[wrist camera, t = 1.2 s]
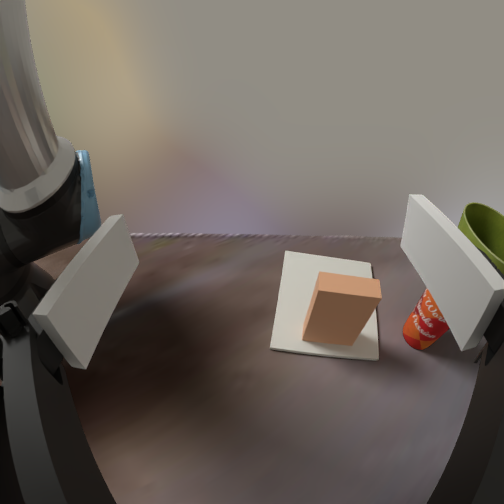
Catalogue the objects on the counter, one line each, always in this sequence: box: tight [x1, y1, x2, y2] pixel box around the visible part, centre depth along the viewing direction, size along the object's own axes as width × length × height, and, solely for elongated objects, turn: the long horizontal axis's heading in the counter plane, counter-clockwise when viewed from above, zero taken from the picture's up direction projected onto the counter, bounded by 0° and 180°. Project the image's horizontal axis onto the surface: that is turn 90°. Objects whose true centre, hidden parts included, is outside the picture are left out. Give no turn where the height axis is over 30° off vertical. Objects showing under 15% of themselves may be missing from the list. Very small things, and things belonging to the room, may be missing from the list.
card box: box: [302, 271, 382, 346], centre depth 33 cm, size 7×3×11 cm, turn 79°
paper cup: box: [403, 288, 449, 350], centre depth 32 cm, size 8×8×14 cm
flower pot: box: [458, 203, 504, 275], centre depth 35 cm, size 15×15×16 cm
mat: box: [270, 251, 379, 361], centre depth 41 cm, size 15×18×1 cm
